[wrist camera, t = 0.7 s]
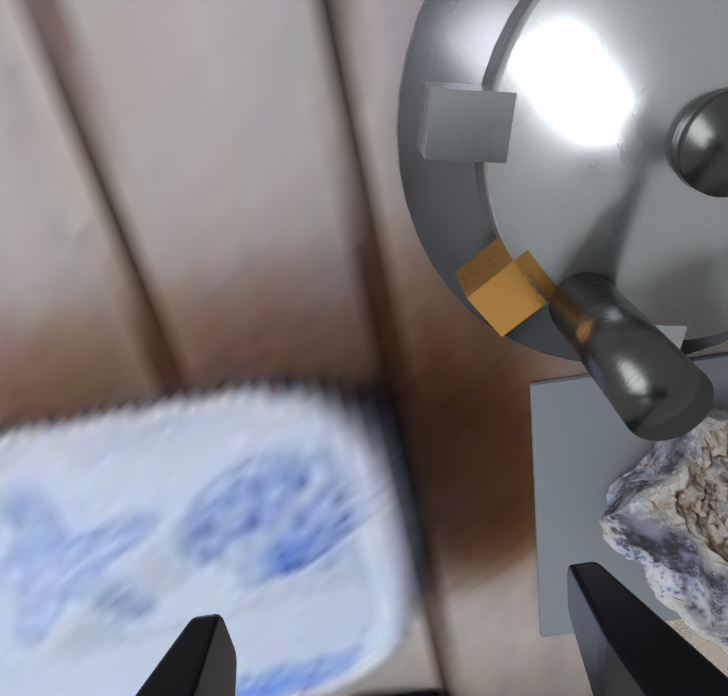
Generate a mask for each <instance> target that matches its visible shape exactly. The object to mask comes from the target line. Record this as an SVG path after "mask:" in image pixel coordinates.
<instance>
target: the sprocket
mask: <svg viewBox="0 0 728 696" xmlns="http://www.w3.org/2000/svg"><path fill="white" fill-rule="evenodd" d="M726 87H728V0H519V2H518V3H517V5H516V6H515V8H514V10H513V11H512V13H511V14H510V16H509V17H508V19H507V21H506V23H505V25H504V27H503V29H502V31H501V33H500V35H499V37H498V39H497V41H496V44H495V46H494V48H493V51H492V53H491V56H490V59H489V62H488V65H487V67H486V70H485V73H484V76H483V80H482V84H468V83H449V82H430V81H421V93H420V104H419V116H418V128H417V139H416V146H417V148H418V149H419V151H420V152H421V154H422V156H423V157H424V159H427V160H448V161H470V162H474V167H475V174H476V182H477V188H478V191H479V195H480V198H481V202H482V205H483V209H484V212H485V214H486V216H487V218H488V221H489V223H490V225H491V227H492V230H493V232H494V233H495V235H496V237H497V238H496V239H495V240H493V241H492V242H491V243H490V244H488V245H487V246H486V247H485V248H483V249H482V250H481V251H480V252H479V253H477V254H476V255H475V256H474V257H472V258H471V259H470V260H469V261H468V262H466V263H465V264H464V265H463V266H461V267H460V268H459V269H458V270H457V271H455V274H456V276H457V278H458V280H459V282H460V285H461V287H462V289H463V291H464V293H465V296H466V298H467V299H468V300H469V301H470V302H471V303H472V305H473V306H474V307H475V308H476V309H477V310H478V311H479V312H480V313H481V315H482V316H483V317H484V318H485V319H486V320H487V321H488V322H489V323H490V325H491V326H492V327H493V328H494V329H495V330H496V331H497V332H498V333H499V335H500V336H501V337H502V336H504V335H505V334H506V333H508V332H509V331H510V330H512V329H513V328H514V327H516V326H517V325H518V324H520V323H521V322H522V321H523V320H525V319H526V318H527V317H529V316H530V315H531V314H533V313H534V312H535V311H537V310H538V309H539V308H541V307H542V306H543V305H545V304H546V303H547V302H549V315H550V317H551V320H552V321H553V323H554V324H555V326H556V327H557V328H558V330H559V331H560V333H561V334H562V335H563V337H564V338H565V340H566V341H567V343H568V344H569V345H570V347H571V348H572V350H573V351H574V352H575V354H576V355H577V357H578V358H579V359H580V361H581V362H582V364H583V365H584V367H585V368H586V369H587V371H588V372H589V374H590V375H591V376H592V378H593V379H594V381H595V382H596V383H597V385H598V386H599V388H600V389H601V391H602V392H603V393H604V395H605V396H606V398H607V399H608V400H609V402H610V403H611V405H612V406H613V407H614V409H615V410H616V412H617V413H618V415H619V416H620V417H621V419H622V420H623V422H624V423H625V424H626V426H627V427H628V429H629V430H630V431H631V432H632V433H633V434H635V435H636V436H638V437H640V438H642V439H645V440H649V441H666V440H671V439H675V438H678V437H680V436H683V435H684V434H686V433H688V432H690V431H691V430H693V429H694V428H695V427H697V426H698V425H699V424H700V423H701V422H702V421H703V420H704V418H705V417H706V416H707V414H708V413H709V411H710V409H711V407H712V404H713V400H714V388H713V385H712V382H711V380H710V379H709V378H708V376H707V375H706V374H705V373H704V372H703V371H702V370H701V369H700V368H699V367H698V366H697V365H695V364H694V363H693V362H692V361H691V360H690V359H689V358H688V357H687V356H686V355H685V354H684V353H683V352H682V351H681V350H680V348H681V345H682V342H683V340H689V339H697V338H702V337H707V336H711V335H716V334H721V333H724V332H727V331H728V197H712V196H709V195H706V194H703V193H701V192H699V191H697V190H695V189H693V188H691V187H689V186H687V185H686V184H684V183H683V182H682V181H681V180H680V179H679V177H678V176H677V175H676V173H675V171H674V169H673V165H672V161H671V144H672V139H673V136H674V133H675V130H676V128H677V126H678V124H679V122H680V121H681V119H682V117H683V116H684V115H685V113H686V112H687V111H688V110H689V109H690V108H691V107H692V106H693V105H694V104H695V103H696V102H697V101H698V100H700V99H701V98H703V97H704V96H706V95H707V94H709V93H711V92H713V91H716V90H718V89H722V88H726Z"/></svg>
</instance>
